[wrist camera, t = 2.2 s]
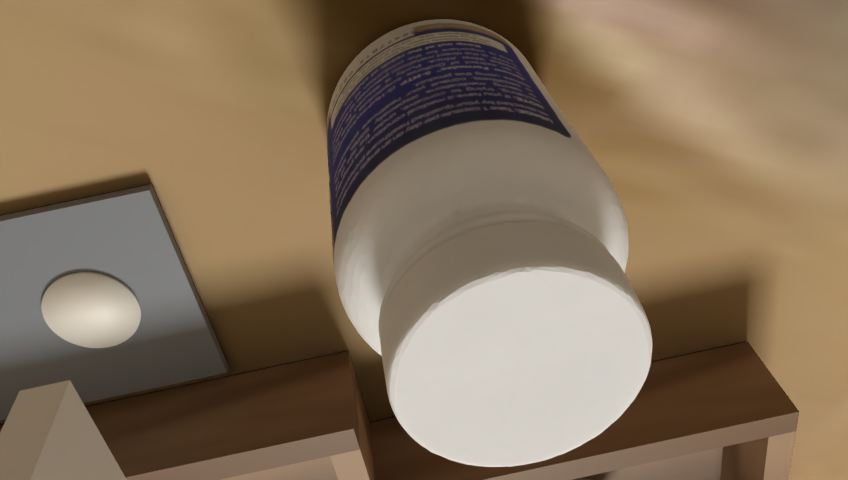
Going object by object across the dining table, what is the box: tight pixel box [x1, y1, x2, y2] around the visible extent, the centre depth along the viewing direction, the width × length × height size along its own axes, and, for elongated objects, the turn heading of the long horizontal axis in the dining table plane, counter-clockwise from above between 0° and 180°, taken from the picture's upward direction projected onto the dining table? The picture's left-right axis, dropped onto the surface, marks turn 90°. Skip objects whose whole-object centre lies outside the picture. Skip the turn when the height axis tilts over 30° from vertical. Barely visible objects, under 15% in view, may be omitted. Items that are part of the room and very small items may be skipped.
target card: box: [0, 184, 228, 421], centre depth 20 cm, size 6×10×1 cm, turn 100°
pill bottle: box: [327, 19, 653, 467], centre depth 15 cm, size 5×5×9 cm
